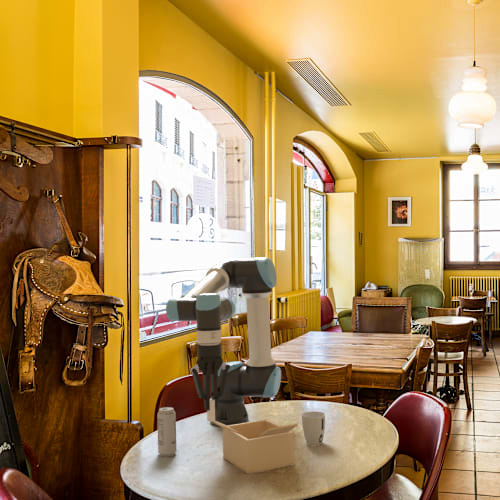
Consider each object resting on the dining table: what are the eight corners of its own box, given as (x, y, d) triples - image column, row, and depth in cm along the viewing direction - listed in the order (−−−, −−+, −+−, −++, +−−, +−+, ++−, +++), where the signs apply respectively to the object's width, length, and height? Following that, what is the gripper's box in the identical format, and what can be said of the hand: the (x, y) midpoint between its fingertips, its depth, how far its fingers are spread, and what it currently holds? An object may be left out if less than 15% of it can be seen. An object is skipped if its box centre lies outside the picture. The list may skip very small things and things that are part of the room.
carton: (222, 457, 194) (221, 426, 194) (267, 448, 202) (266, 418, 202) (248, 474, 177) (247, 440, 178) (296, 464, 185) (295, 431, 185)
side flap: (207, 417, 189) (207, 419, 189) (220, 424, 180) (220, 426, 180) (225, 425, 192) (225, 426, 192) (239, 432, 183) (238, 434, 183)
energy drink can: (177, 456, 196) (175, 410, 196) (158, 458, 195) (157, 411, 195) (176, 450, 202) (175, 406, 202) (158, 452, 201) (157, 407, 201)
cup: (325, 447, 201) (324, 417, 201) (301, 446, 203) (300, 417, 203) (326, 440, 209) (326, 411, 209) (303, 439, 211) (302, 411, 211)
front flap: (268, 428, 174) (268, 430, 174) (297, 423, 179) (298, 425, 179) (258, 435, 180) (259, 437, 180) (287, 430, 184) (287, 431, 184)
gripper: (194, 346, 178) (196, 426, 178) (233, 343, 184) (235, 420, 184) (185, 344, 185) (187, 420, 185) (223, 340, 191) (225, 414, 191)
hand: (211, 420), depth 184 cm, fingers closed
